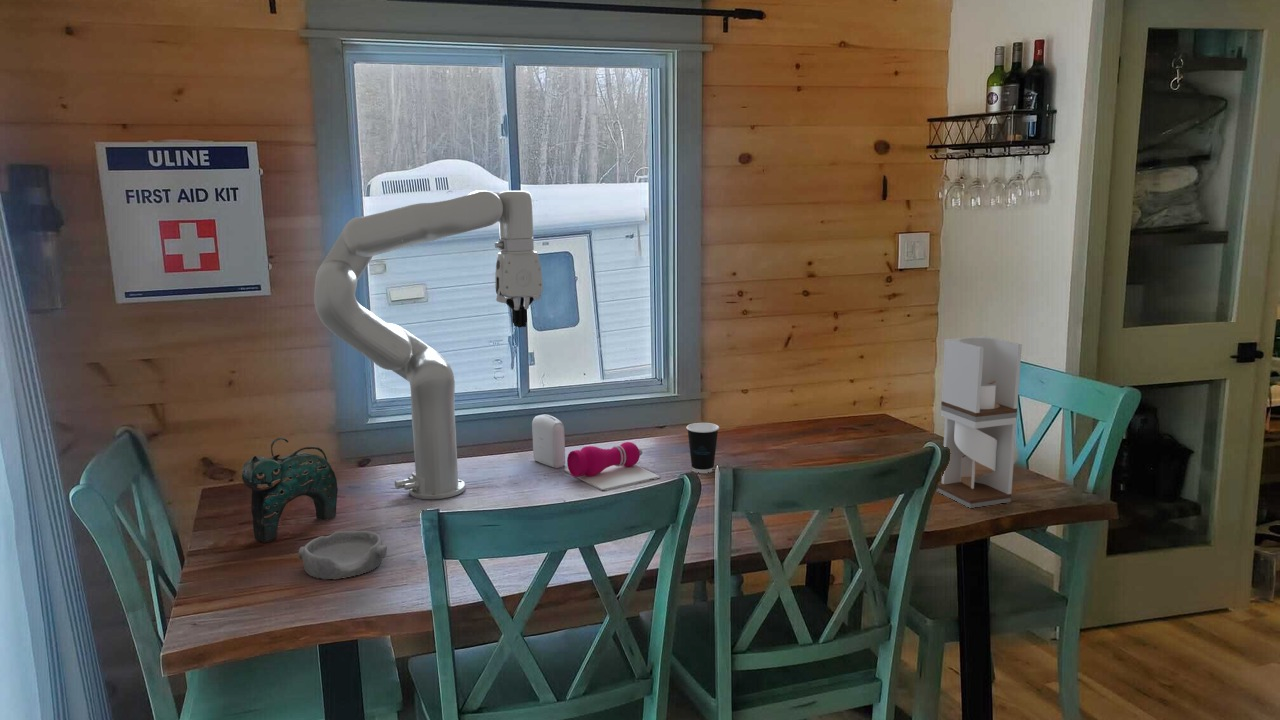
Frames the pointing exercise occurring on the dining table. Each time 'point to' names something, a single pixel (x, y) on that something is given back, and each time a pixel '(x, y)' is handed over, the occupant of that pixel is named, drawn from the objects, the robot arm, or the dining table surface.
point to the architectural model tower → (980, 418)
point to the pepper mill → (601, 459)
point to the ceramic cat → (288, 487)
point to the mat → (617, 477)
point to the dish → (342, 554)
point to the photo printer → (548, 441)
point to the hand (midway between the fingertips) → (519, 326)
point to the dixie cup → (702, 446)
